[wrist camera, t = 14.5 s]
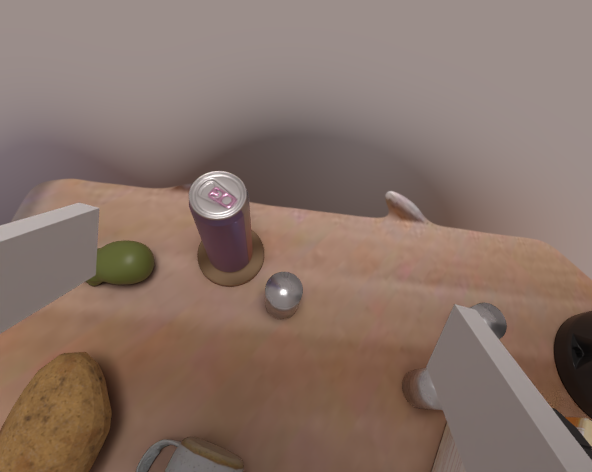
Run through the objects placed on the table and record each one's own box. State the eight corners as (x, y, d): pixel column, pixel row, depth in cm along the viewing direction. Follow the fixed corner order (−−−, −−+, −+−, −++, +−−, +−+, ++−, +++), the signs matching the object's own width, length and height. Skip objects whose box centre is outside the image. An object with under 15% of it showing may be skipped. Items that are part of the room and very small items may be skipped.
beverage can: (235, 282, 45) (223, 231, 31) (199, 258, 46) (173, 200, 32) (261, 248, 47) (260, 187, 34) (226, 226, 48) (212, 159, 35)
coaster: (274, 269, 47) (275, 266, 46) (213, 298, 45) (212, 295, 44) (247, 218, 50) (247, 214, 49) (189, 242, 48) (187, 239, 47)
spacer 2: (484, 337, 46) (514, 329, 40) (460, 353, 44) (487, 346, 39) (463, 308, 47) (489, 296, 42) (439, 323, 46) (462, 312, 41)
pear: (138, 274, 40) (55, 282, 40) (158, 287, 44) (84, 294, 45) (144, 231, 42) (65, 239, 42) (162, 248, 47) (92, 255, 47)
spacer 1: (303, 309, 45) (309, 297, 40) (274, 325, 44) (275, 314, 39) (288, 281, 47) (291, 265, 41) (259, 295, 45) (259, 281, 40)
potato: (140, 360, 41) (115, 351, 34) (102, 506, 35) (60, 533, 27) (57, 353, 40) (13, 342, 33) (3, 499, 34) (-66, 525, 27)
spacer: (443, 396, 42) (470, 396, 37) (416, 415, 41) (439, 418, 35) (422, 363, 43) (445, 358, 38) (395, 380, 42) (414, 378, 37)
